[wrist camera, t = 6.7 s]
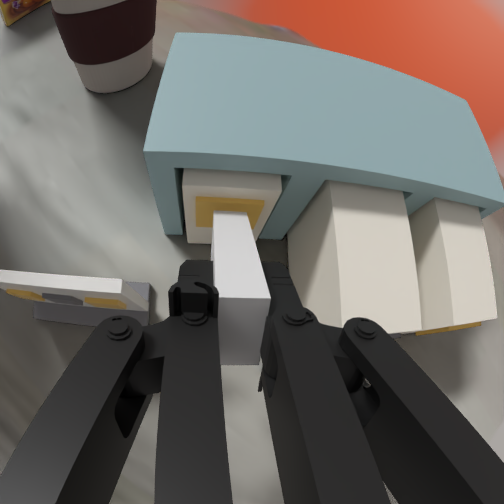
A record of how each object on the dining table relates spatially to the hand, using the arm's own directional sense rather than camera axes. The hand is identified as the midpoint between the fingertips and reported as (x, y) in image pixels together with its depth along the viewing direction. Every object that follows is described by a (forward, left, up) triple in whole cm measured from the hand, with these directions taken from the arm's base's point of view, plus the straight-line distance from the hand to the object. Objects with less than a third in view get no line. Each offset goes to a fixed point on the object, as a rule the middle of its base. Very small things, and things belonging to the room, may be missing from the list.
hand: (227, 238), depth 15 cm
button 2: (+14, 0, -6) cm, 15 cm away
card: (-9, -3, -6) cm, 11 cm away
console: (+7, +7, -6) cm, 11 cm away
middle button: (+7, 0, -6) cm, 9 cm away
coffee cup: (-11, +19, -6) cm, 23 cm away
